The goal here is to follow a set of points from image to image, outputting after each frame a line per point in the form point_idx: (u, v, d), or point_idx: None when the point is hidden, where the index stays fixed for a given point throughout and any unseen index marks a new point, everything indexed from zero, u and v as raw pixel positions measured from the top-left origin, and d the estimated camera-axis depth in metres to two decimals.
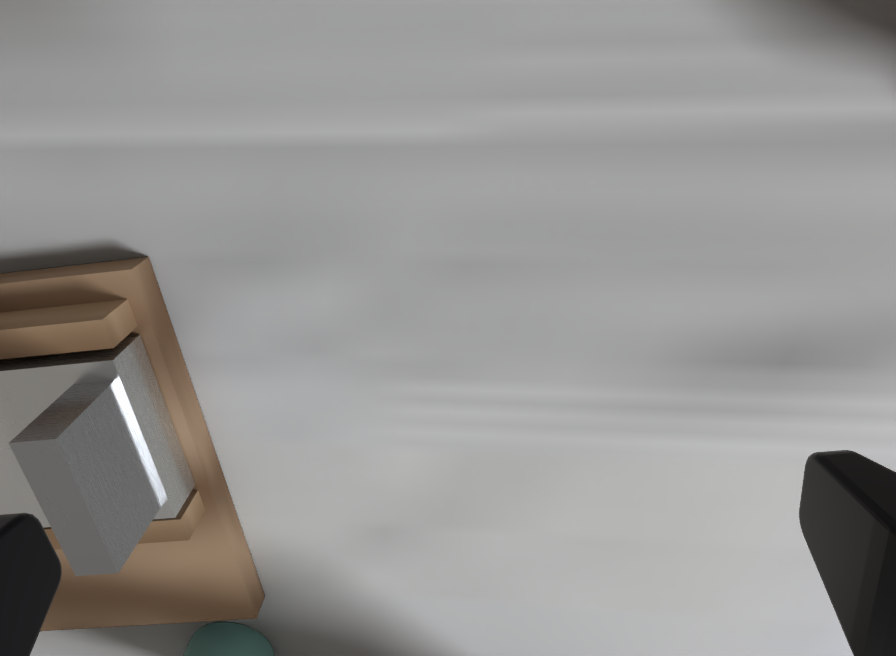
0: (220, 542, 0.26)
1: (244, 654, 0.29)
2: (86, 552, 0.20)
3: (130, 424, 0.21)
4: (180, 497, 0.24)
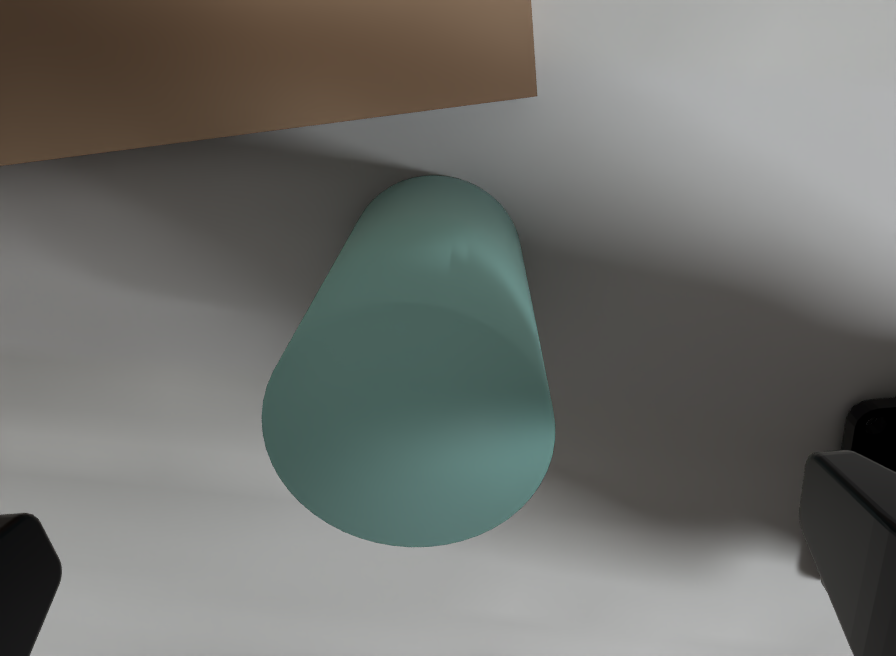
0: None
1: (491, 210, 0.13)
2: None
3: None
4: None
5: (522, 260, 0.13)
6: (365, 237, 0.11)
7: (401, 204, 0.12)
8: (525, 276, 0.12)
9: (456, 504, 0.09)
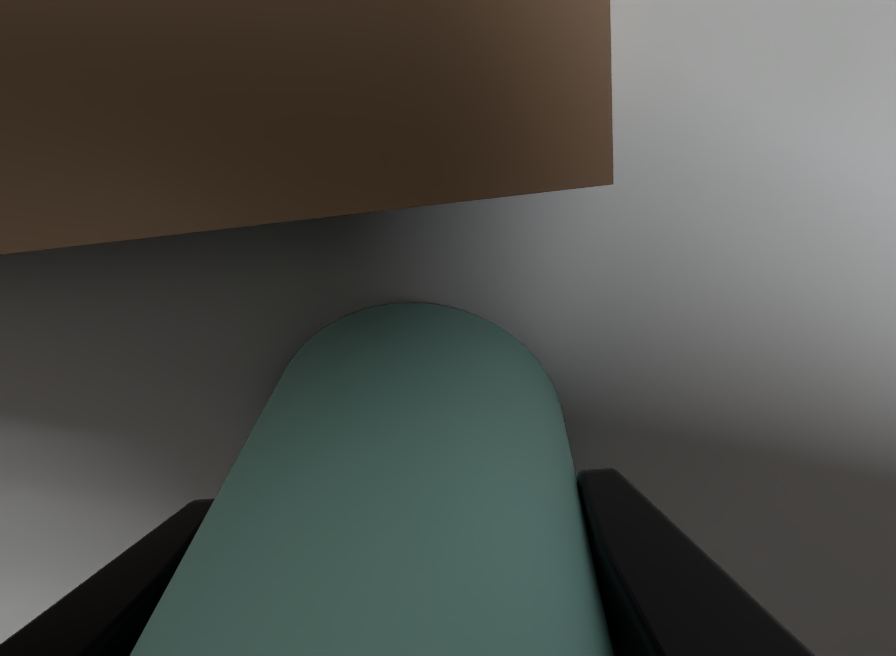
0: None
1: (517, 388, 0.07)
2: None
3: None
4: None
5: (577, 487, 0.07)
6: (243, 520, 0.05)
7: (339, 401, 0.06)
8: (590, 549, 0.06)
9: None
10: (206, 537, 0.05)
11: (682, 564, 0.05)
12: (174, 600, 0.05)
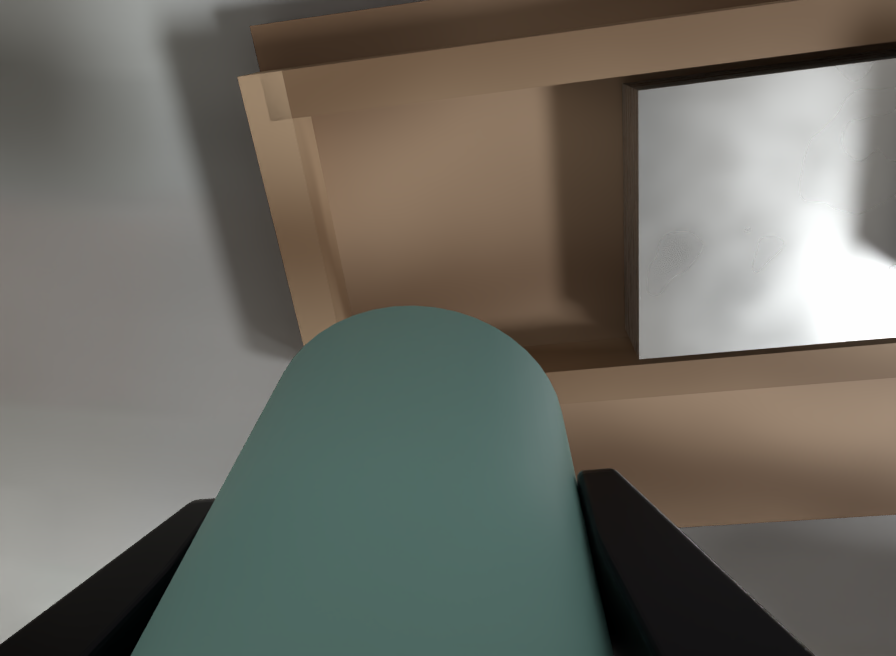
0: None
1: (517, 392, 0.07)
2: None
3: None
4: None
5: (577, 492, 0.07)
6: (241, 527, 0.05)
7: (338, 406, 0.06)
8: (590, 555, 0.06)
9: None
10: (203, 544, 0.05)
11: (682, 564, 0.05)
12: (170, 609, 0.05)
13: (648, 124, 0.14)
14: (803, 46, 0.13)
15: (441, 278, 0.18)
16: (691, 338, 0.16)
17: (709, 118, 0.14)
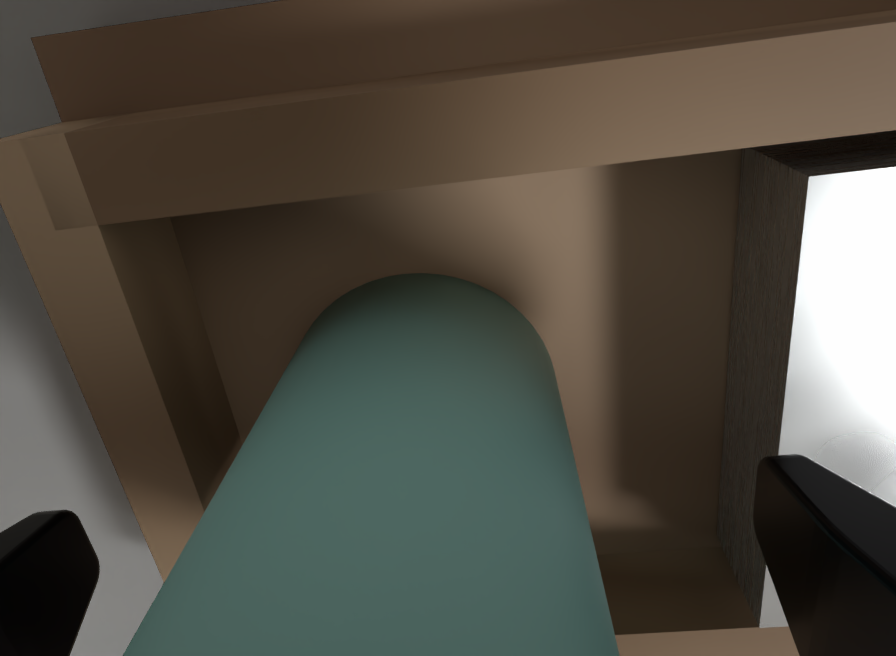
0: None
1: (513, 343, 0.08)
2: None
3: None
4: None
5: (566, 429, 0.08)
6: (281, 433, 0.06)
7: (359, 346, 0.07)
8: (577, 475, 0.07)
9: None
10: (248, 451, 0.06)
11: None
12: (226, 494, 0.06)
13: (822, 243, 0.07)
14: None
15: None
16: None
17: None
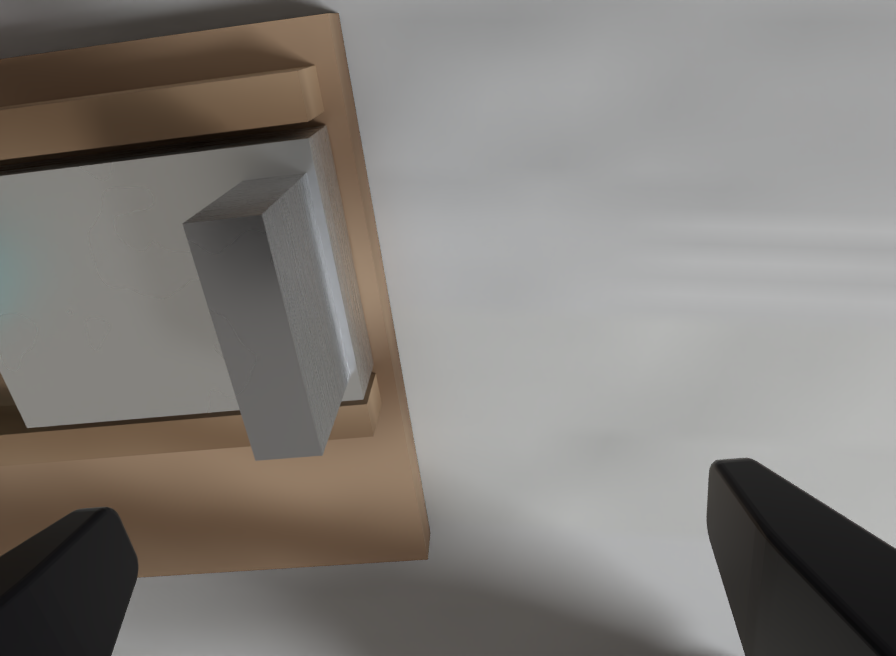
0: (395, 451, 0.19)
1: None
2: (278, 420, 0.13)
3: (320, 248, 0.15)
4: (365, 374, 0.17)
5: None
6: None
7: None
8: None
9: None
10: None
11: (865, 553, 0.05)
12: None
13: None
14: (53, 147, 0.14)
15: None
16: (65, 409, 0.17)
17: None
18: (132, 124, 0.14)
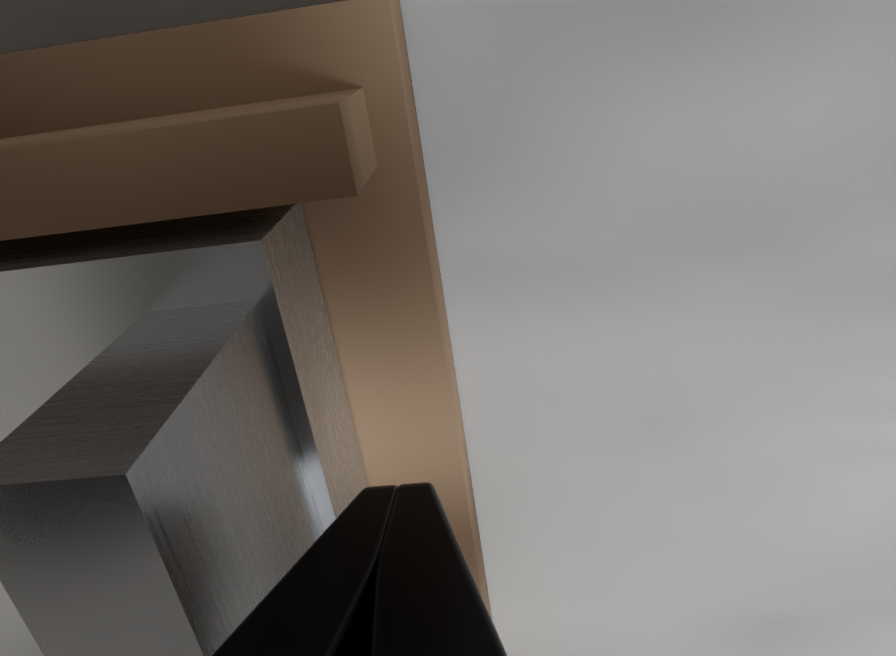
0: None
1: None
2: None
3: (288, 420, 0.08)
4: None
5: None
6: None
7: None
8: None
9: None
10: None
11: (440, 579, 0.05)
12: None
13: None
14: None
15: None
16: None
17: None
18: (30, 203, 0.07)
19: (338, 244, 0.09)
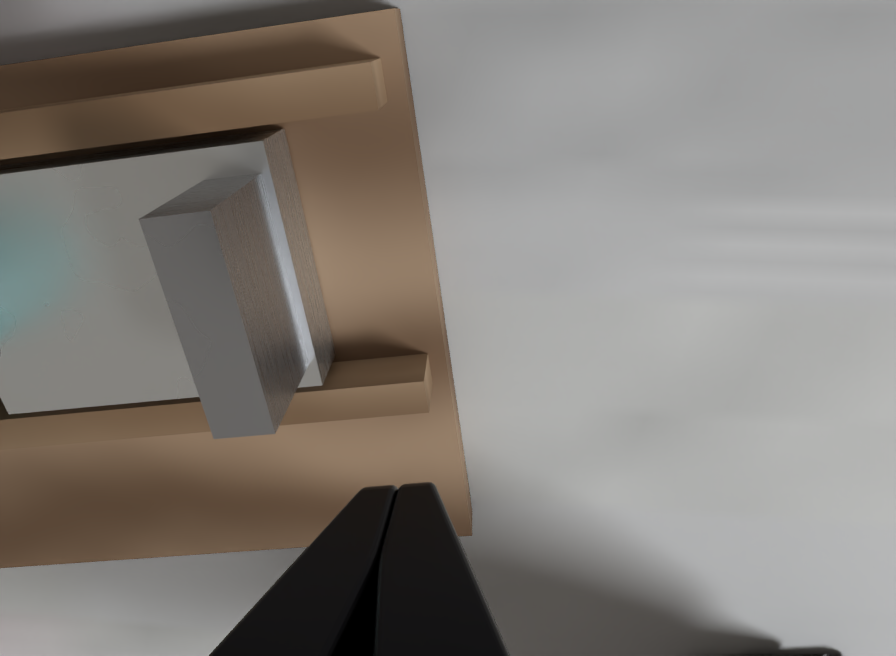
0: (444, 429, 0.20)
1: None
2: (233, 401, 0.14)
3: (277, 242, 0.16)
4: (325, 362, 0.18)
5: None
6: None
7: None
8: None
9: None
10: None
11: (443, 579, 0.05)
12: None
13: None
14: (136, 135, 0.15)
15: None
16: (44, 396, 0.18)
17: None
18: (212, 114, 0.15)
19: (365, 147, 0.16)
